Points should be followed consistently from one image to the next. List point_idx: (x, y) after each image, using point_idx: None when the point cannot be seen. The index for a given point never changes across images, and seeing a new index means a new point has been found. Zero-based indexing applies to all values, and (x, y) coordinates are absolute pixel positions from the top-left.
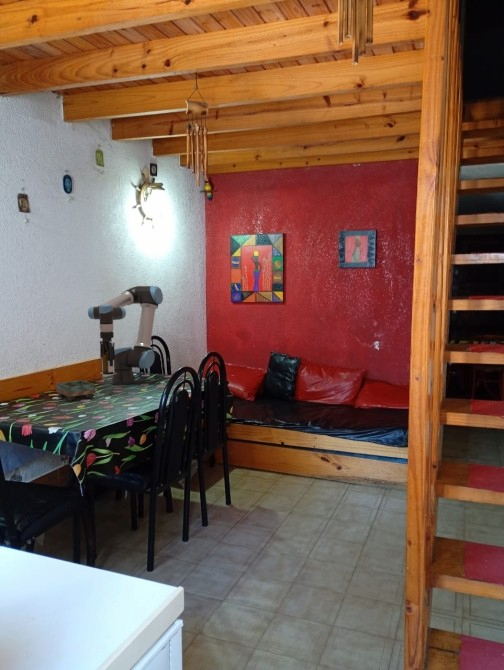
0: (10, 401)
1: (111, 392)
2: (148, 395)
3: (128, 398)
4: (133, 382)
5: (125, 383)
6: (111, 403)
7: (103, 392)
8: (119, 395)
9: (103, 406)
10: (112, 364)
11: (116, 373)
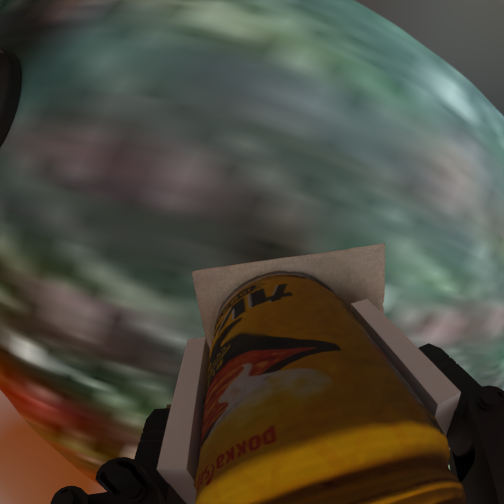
0: None
1: (201, 229)
2: (409, 70)
3: (434, 194)
4: (14, 56)
5: (14, 98)
6: (471, 301)
7: (176, 277)
8: (334, 210)
9: (485, 336)
10: (447, 362)
11: (365, 250)
